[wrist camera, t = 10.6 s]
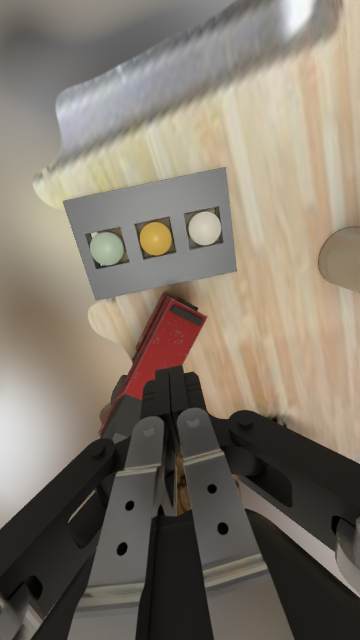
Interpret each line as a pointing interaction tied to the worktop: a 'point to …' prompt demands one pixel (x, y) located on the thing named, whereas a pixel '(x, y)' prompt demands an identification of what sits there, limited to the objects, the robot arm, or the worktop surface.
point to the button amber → (155, 238)
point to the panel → (146, 206)
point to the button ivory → (204, 228)
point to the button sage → (107, 248)
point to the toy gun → (152, 361)
